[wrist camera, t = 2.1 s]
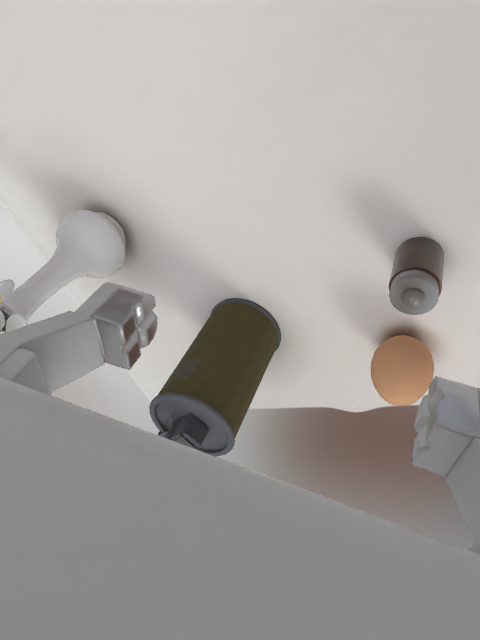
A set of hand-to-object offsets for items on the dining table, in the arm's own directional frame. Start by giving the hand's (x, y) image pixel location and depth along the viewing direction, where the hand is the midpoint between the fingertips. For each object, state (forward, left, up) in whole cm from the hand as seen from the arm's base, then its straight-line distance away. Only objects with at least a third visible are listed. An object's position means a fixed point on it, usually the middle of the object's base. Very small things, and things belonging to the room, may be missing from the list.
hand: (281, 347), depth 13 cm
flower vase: (+37, +17, -34) cm, 52 cm away
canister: (+18, +31, -34) cm, 49 cm away
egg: (-3, +29, -34) cm, 44 cm away
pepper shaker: (-3, +17, -33) cm, 37 cm away
